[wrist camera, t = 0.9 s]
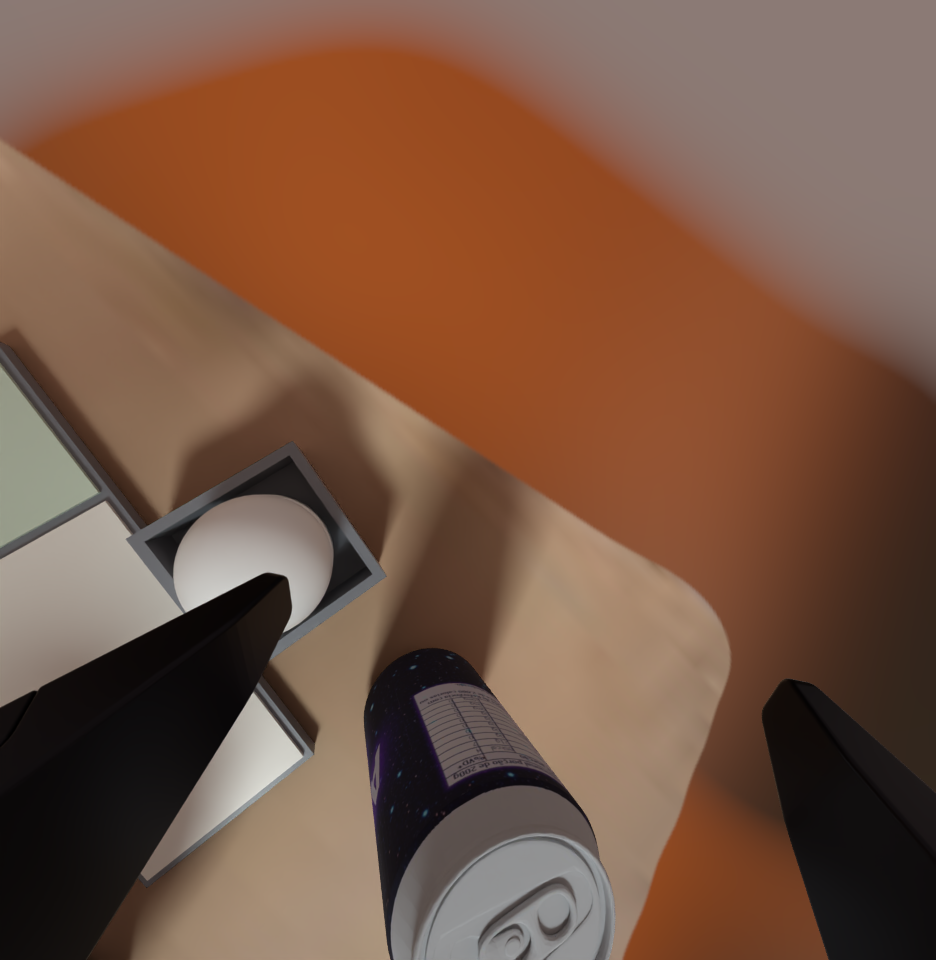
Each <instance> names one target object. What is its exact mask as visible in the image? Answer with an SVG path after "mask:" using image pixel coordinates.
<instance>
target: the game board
mask: <svg viewBox="0 0 936 960" xmlns="http://www.w3.org/2000/svg"><path fill="white" fill-rule="evenodd" d="M145 527H147V525H146V524H145V522H144V521H143V520H142V518H141V517H140V516H139V514H138V513H137V512H136V511H135V509H134V508H133V507H132V505H131V504H130V503H129V501H128V500H127V499H126V498H125V496H124V495H123V494H122V492H121V491H120V490H119V488H118V487H117V486H116V484H115V483H114V482H113V481H112V479H111V478H110V477H109V475H108V474H107V473H106V471H105V470H104V469H103V468H102V466H101V465H100V464H99V462H98V461H97V460H96V458H95V457H94V456H93V455H92V453H91V452H90V451H89V449H88V448H87V447H86V445H85V444H84V443H83V442H82V440H81V439H80V438H79V436H78V435H77V434H76V432H75V431H74V430H73V428H72V427H71V426H70V425H69V423H68V422H67V421H66V419H65V418H64V417H63V415H62V414H61V413H60V412H59V410H58V409H57V408H56V406H55V405H54V404H53V402H52V401H51V400H50V399H49V397H48V396H47V395H46V393H45V392H44V391H43V389H42V388H41V387H40V385H39V384H38V383H37V382H36V380H35V379H34V378H33V376H32V375H31V374H30V372H29V371H28V370H27V369H26V367H25V366H24V365H23V363H22V362H21V361H20V359H19V358H18V357H17V356H16V354H15V353H14V352H13V350H12V349H11V348H10V346H8V345H6V344H4V343H1V342H0V707H2V706H4V705H5V704H7V703H9V702H11V701H13V700H15V699H17V698H19V697H21V696H23V695H25V694H27V693H29V692H31V691H33V690H36V691H38V689H39V688H40V687H41V686H43V685H45V684H47V683H49V682H51V681H53V680H55V679H57V678H59V677H61V676H63V675H65V674H67V673H68V672H70V671H72V670H74V669H76V668H78V667H80V666H82V665H84V664H86V663H88V662H90V661H92V660H94V659H96V658H98V657H100V656H102V655H104V654H106V653H108V652H110V651H112V650H114V649H115V648H117V647H119V646H121V645H123V644H125V643H127V642H129V641H131V640H133V639H135V638H137V637H139V636H141V635H143V634H145V633H147V632H149V631H151V630H153V629H155V628H157V627H159V626H161V625H162V624H164V623H166V622H168V621H170V620H172V619H174V618H176V617H178V616H180V615H182V614H183V612H182V611H181V610H180V608H179V607H178V606H177V605H176V603H175V602H174V601H173V599H172V598H171V597H170V596H169V594H168V593H167V592H166V590H165V589H164V588H163V587H162V585H161V584H160V583H159V581H158V580H157V579H156V578H155V576H154V575H153V574H152V573H151V571H150V570H149V569H148V567H147V566H146V565H145V564H144V562H143V561H142V560H141V558H140V557H139V556H138V555H137V553H136V552H135V551H134V549H133V548H132V547H131V546H130V544H129V543H128V542H127V540H126V538H128V537H130V536H131V535H133V534H135V533H136V532H138V531H140V530H141V529H143V528H145ZM314 749H315V744H314V742H313V741H312V740H311V738H310V737H309V736H308V735H307V733H306V732H305V731H304V729H303V728H302V727H301V725H300V724H299V723H298V722H297V720H296V719H295V718H294V716H293V715H292V714H291V712H290V711H289V710H288V709H287V707H286V706H285V705H284V703H283V702H282V701H281V699H280V698H279V697H278V696H277V694H276V693H275V692H274V690H273V689H272V688H271V686H270V685H269V684H268V682H267V681H266V680H265V679H264V677H263V676H261V678H260V680H259V682H258V684H257V686H256V688H255V690H254V691H253V693H252V695H251V697H250V698H249V700H248V702H247V703H246V705H245V707H244V708H243V710H242V712H241V713H240V715H239V716H238V718H237V720H236V721H235V723H234V724H233V726H232V728H231V729H230V731H229V732H228V734H227V736H226V737H225V739H224V740H223V742H222V744H221V745H220V747H219V748H218V750H217V752H216V753H215V755H214V756H213V758H212V760H211V761H210V763H209V764H208V766H207V768H206V769H205V771H204V772H203V774H202V776H201V777H200V779H199V780H198V782H197V784H196V785H195V787H194V789H193V790H192V792H191V793H190V795H189V797H188V798H187V800H186V801H185V803H184V805H183V806H182V808H181V809H180V811H179V813H178V814H177V816H176V817H175V819H174V821H173V822H172V824H171V825H170V827H169V829H168V830H167V832H166V833H165V835H164V837H163V838H162V840H161V841H160V843H159V845H158V846H157V848H156V849H155V851H154V853H153V854H152V856H151V857H150V859H149V861H148V862H147V864H146V865H145V867H144V869H143V870H142V872H141V873H140V875H139V877H138V879H139V880H140V881H141V882H142V883H143V884H144V886H145V887H146V888H148V887H149V886H150V885H151V884H153V883H154V882H155V881H156V880H158V879H159V878H160V877H161V876H163V875H164V874H165V873H166V872H168V871H169V870H170V869H171V868H173V867H174V866H175V865H176V864H178V863H179V862H180V861H181V860H183V859H184V858H185V857H186V856H188V855H189V854H190V853H191V852H193V851H194V850H195V849H196V848H198V847H199V846H200V845H201V844H203V843H204V842H205V841H206V840H208V839H209V838H210V837H211V836H213V835H214V834H215V833H216V832H218V831H219V830H220V829H221V828H223V827H224V826H225V825H226V824H228V823H229V822H230V821H231V820H233V819H234V818H235V817H236V816H238V815H239V814H240V813H241V812H243V811H244V810H245V809H246V808H248V807H249V806H250V805H251V804H253V803H254V802H255V801H256V800H258V799H259V798H260V797H261V796H263V795H264V794H265V793H266V792H268V791H269V790H270V789H271V788H273V787H274V786H275V785H276V784H278V783H279V782H280V781H281V780H283V779H284V778H285V777H286V776H288V775H289V774H290V773H291V772H293V771H294V770H295V769H296V768H298V767H299V766H300V765H301V764H303V763H304V762H305V761H306V760H308V759H309V758H310V757H311V756H313V755H314Z"/></svg>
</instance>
